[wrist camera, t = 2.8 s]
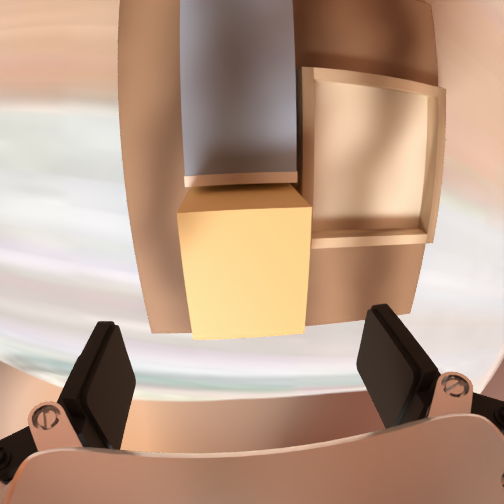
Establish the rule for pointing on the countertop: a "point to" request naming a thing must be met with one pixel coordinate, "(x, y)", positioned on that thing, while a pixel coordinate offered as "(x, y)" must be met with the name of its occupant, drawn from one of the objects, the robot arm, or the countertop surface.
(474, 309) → the countertop surface
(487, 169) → the countertop surface
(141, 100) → the board
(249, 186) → the block
